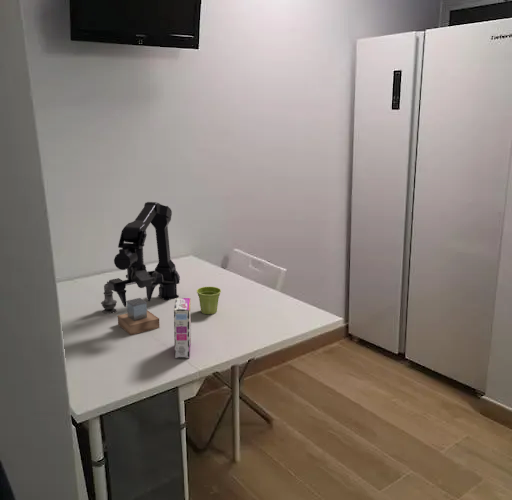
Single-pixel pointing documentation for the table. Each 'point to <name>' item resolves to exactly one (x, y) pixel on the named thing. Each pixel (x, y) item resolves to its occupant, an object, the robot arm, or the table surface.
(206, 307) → the plant pot
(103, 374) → the table surface
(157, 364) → the table surface
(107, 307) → the dark grey tall piece
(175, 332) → the candy bar box
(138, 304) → the slate tin
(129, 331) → the walnut block
